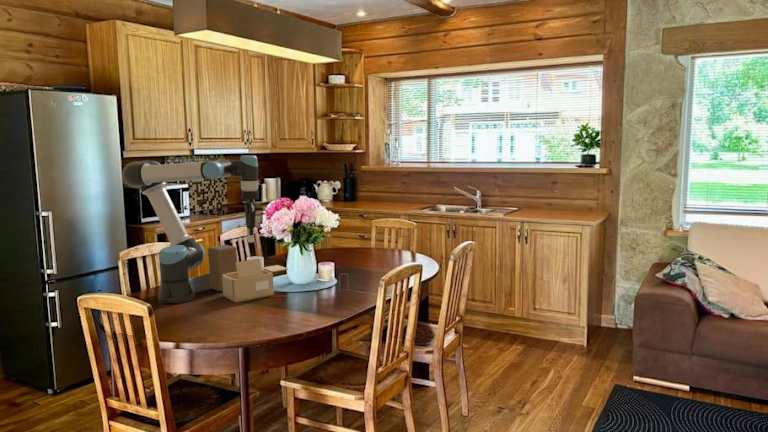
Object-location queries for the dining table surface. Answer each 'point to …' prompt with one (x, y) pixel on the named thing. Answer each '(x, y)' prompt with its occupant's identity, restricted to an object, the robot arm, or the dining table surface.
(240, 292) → the carton
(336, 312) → the dining table surface
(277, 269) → the right flap
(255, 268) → the front flap
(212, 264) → the wooden block
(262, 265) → the cup
